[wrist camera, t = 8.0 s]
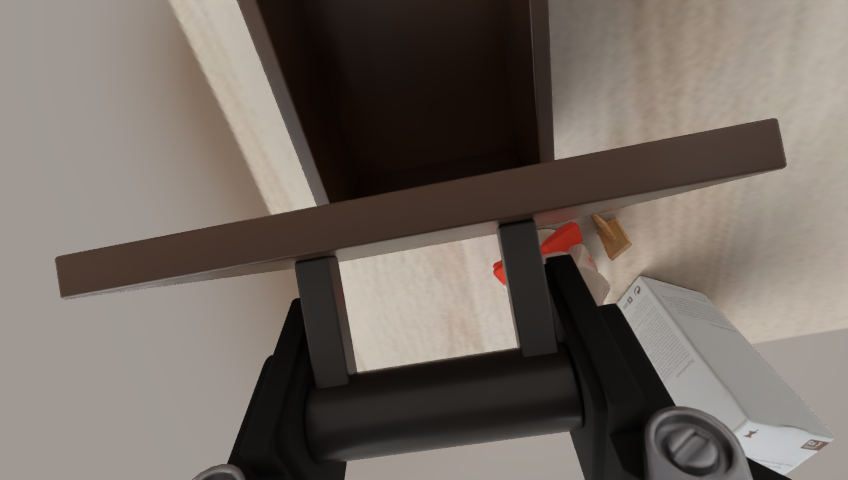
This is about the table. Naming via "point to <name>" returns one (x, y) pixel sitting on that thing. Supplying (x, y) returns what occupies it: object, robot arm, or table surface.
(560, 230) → the figurine
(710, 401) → the cosmetic box
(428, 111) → the box
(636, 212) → the table surface
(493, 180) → the lid
